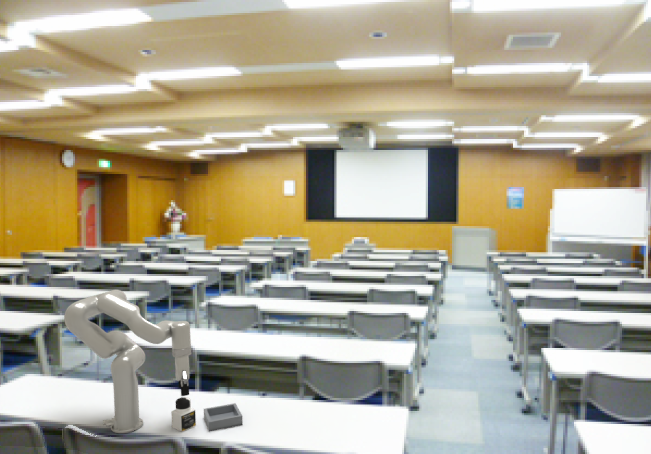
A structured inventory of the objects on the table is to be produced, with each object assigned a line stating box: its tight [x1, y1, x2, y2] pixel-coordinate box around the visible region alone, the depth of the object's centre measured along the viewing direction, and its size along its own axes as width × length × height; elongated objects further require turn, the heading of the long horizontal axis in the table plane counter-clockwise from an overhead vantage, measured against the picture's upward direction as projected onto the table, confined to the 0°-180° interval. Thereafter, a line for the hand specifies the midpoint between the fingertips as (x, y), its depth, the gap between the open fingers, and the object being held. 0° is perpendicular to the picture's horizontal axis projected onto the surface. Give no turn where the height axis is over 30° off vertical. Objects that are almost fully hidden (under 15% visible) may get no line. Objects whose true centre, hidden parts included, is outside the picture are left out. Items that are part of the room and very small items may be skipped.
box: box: [203, 402, 243, 433], centre depth 205 cm, size 14×14×4 cm
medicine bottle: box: [170, 396, 197, 432], centre depth 200 cm, size 7×7×12 cm
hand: (183, 391), depth 200 cm, fingers open, 9 cm apart
